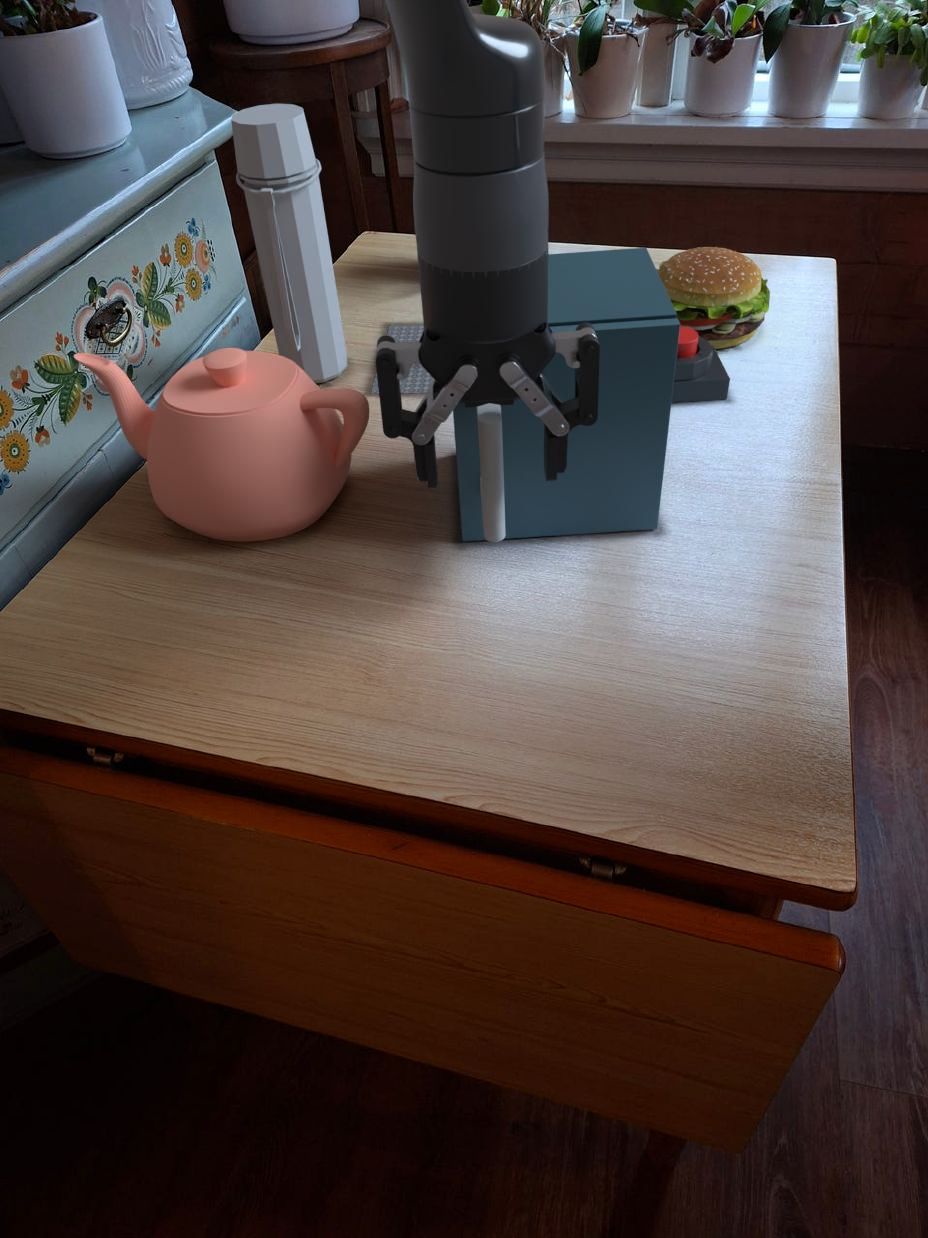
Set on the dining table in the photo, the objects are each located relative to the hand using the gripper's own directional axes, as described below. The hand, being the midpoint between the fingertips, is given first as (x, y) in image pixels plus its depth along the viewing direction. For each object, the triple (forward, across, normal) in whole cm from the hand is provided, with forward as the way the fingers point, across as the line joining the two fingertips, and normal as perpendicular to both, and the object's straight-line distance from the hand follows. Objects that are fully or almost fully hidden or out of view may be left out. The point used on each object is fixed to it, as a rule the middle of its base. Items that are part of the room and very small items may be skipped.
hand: (491, 478), depth 63 cm
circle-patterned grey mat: (+11, 0, +39) cm, 40 cm away
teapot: (+11, -21, +16) cm, 28 cm away
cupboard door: (+10, +6, +4) cm, 12 cm away
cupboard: (+11, +6, +14) cm, 18 cm away
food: (+11, +25, +42) cm, 49 cm away
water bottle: (+11, -17, +37) cm, 42 cm away
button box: (+10, +20, +30) cm, 37 cm away
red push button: (+7, +20, +29) cm, 36 cm away
